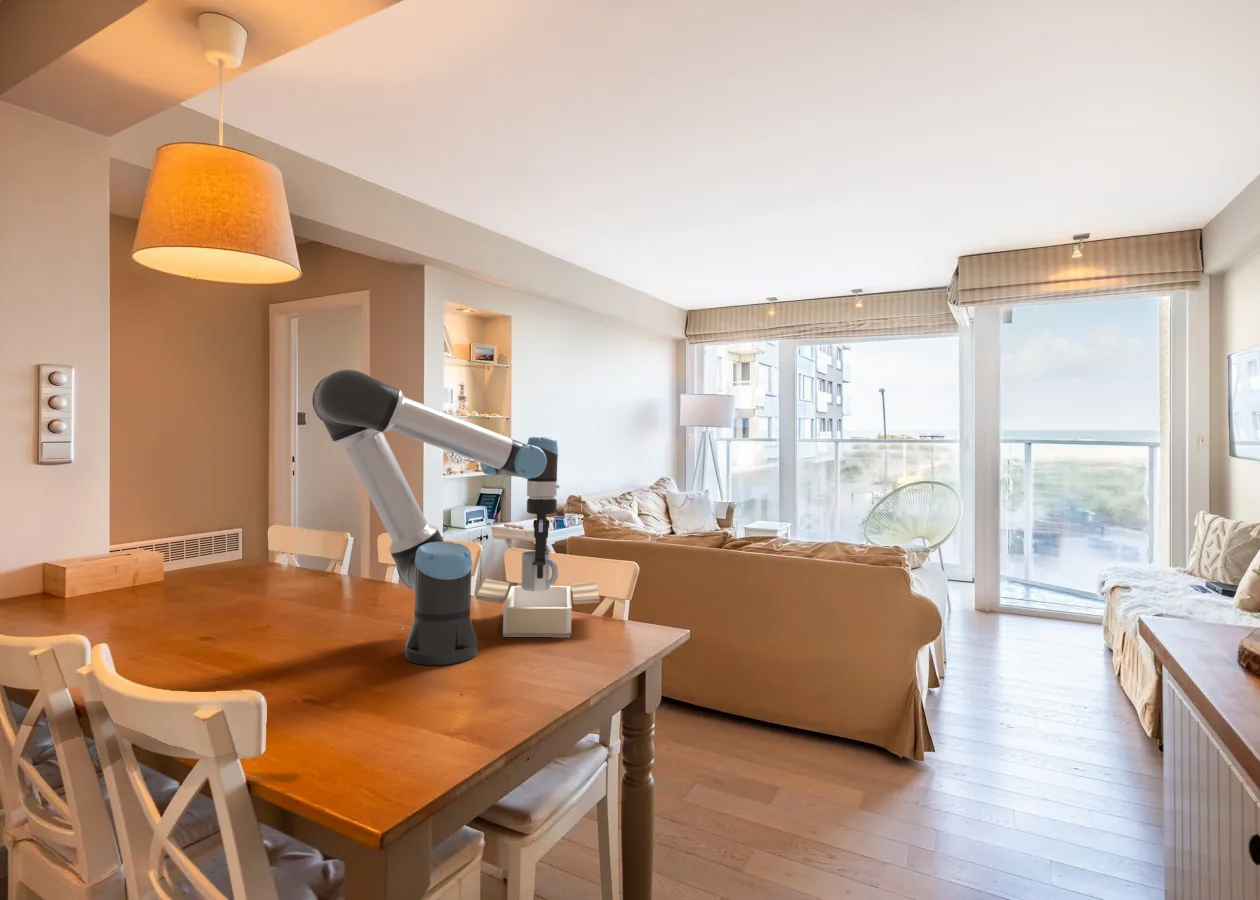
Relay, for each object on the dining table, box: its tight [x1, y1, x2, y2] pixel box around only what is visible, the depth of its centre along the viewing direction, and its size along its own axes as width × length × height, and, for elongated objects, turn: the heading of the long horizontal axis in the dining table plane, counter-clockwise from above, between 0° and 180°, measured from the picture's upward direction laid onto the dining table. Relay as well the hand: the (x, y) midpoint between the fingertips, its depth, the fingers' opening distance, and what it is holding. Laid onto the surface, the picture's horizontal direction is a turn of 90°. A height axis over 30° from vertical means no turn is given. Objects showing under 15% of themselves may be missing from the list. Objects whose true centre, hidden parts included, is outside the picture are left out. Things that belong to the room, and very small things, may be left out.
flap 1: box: [475, 578, 510, 605], centre depth 167 cm, size 19×6×1 cm, turn 6°
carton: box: [502, 585, 573, 638], centre depth 168 cm, size 25×16×7 cm, turn 6°
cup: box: [521, 550, 559, 591], centre depth 168 cm, size 7×10×9 cm
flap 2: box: [571, 581, 601, 605], centre depth 170 cm, size 19×6×1 cm, turn 6°
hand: (540, 587), depth 168 cm, fingers closed on cup, 7 cm apart
